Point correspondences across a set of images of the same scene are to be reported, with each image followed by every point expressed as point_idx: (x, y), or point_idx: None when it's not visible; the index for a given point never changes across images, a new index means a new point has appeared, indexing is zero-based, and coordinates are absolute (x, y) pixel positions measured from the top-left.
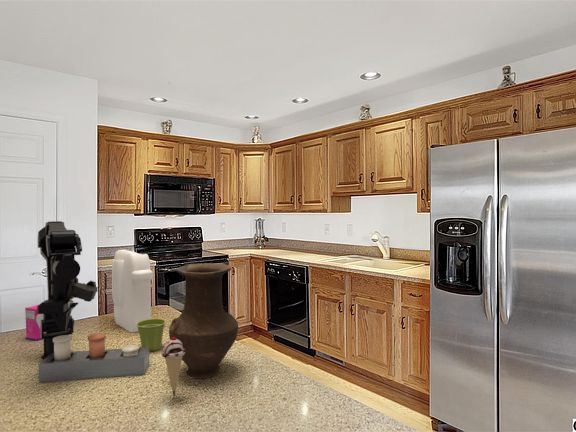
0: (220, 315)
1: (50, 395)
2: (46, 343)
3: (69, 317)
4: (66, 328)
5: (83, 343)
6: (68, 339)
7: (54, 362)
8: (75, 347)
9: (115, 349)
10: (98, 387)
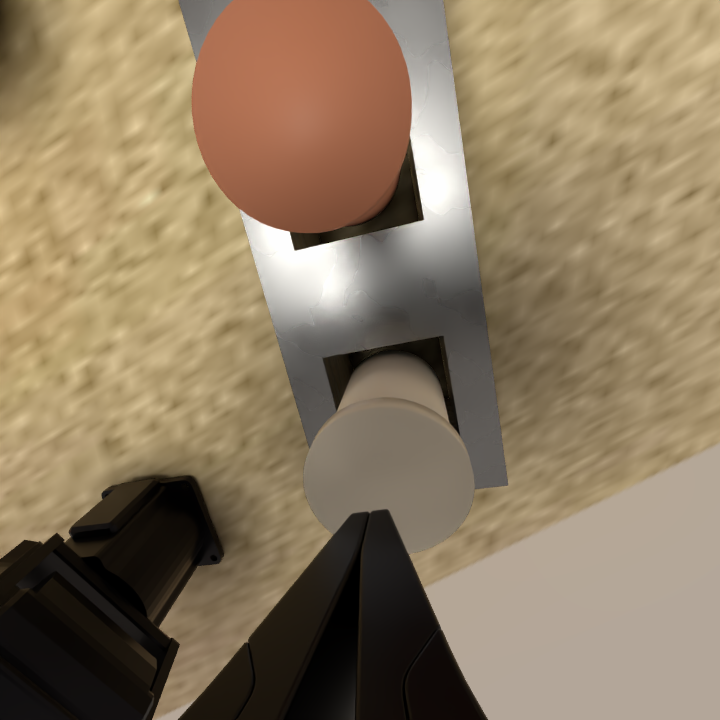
0: None
1: (653, 284)
2: (165, 602)
3: (253, 644)
4: (352, 521)
5: (17, 473)
6: (416, 409)
7: (490, 403)
8: (71, 484)
9: None
10: (584, 36)
